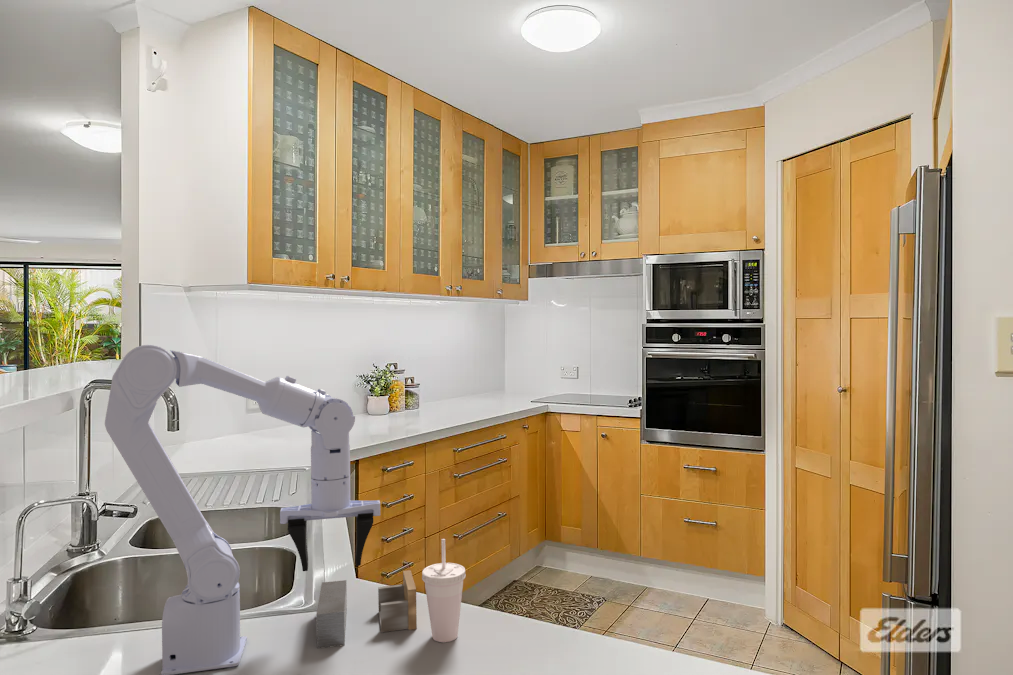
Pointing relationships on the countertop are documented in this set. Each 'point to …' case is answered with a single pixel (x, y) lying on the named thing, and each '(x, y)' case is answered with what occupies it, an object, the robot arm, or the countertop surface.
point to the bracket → (398, 605)
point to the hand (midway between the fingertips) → (332, 566)
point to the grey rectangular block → (332, 614)
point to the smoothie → (444, 597)
